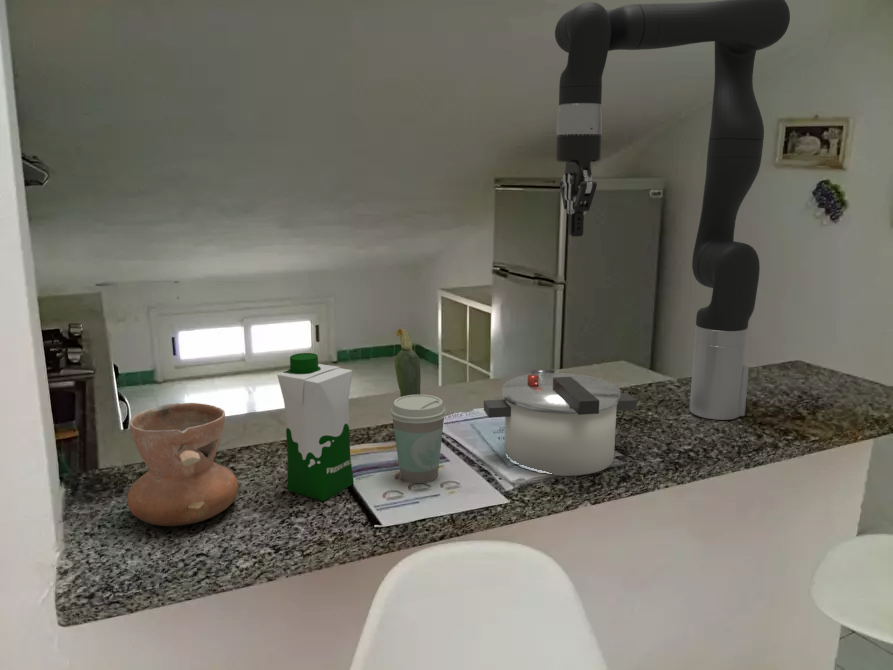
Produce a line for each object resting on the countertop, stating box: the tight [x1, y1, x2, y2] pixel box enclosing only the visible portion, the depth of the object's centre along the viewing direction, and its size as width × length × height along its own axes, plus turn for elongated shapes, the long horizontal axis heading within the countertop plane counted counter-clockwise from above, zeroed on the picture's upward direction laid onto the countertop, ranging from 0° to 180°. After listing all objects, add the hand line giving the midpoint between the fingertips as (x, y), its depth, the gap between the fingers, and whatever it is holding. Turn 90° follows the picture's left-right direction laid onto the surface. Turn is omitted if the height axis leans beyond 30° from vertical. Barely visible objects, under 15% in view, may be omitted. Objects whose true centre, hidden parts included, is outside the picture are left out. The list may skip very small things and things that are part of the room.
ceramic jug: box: [126, 402, 239, 527], centre depth 99 cm, size 18×14×14 cm
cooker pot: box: [483, 392, 638, 477], centre depth 119 cm, size 25×18×10 cm
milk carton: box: [277, 352, 355, 502], centre depth 106 cm, size 9×9×20 cm
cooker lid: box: [501, 368, 621, 415], centre depth 117 cm, size 19×25×4 cm
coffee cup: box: [389, 394, 447, 484], centre depth 111 cm, size 8×8×12 cm
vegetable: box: [394, 328, 421, 398], centre depth 125 cm, size 4×4×20 cm
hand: (575, 235), depth 126 cm, fingers closed
